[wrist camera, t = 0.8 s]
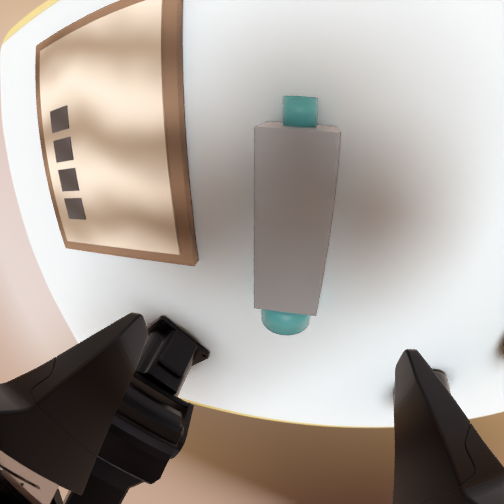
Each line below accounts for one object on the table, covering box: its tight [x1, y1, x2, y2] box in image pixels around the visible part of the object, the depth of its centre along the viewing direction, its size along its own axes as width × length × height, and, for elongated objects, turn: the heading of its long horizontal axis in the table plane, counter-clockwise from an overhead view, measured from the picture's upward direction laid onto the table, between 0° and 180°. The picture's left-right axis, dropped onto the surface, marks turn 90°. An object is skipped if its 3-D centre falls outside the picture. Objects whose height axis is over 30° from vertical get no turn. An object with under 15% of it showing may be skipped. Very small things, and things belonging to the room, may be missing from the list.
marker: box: [254, 96, 341, 335], centre depth 16 cm, size 15×4×4 cm, turn 0°
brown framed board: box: [36, 0, 198, 266], centre depth 17 cm, size 21×15×1 cm
